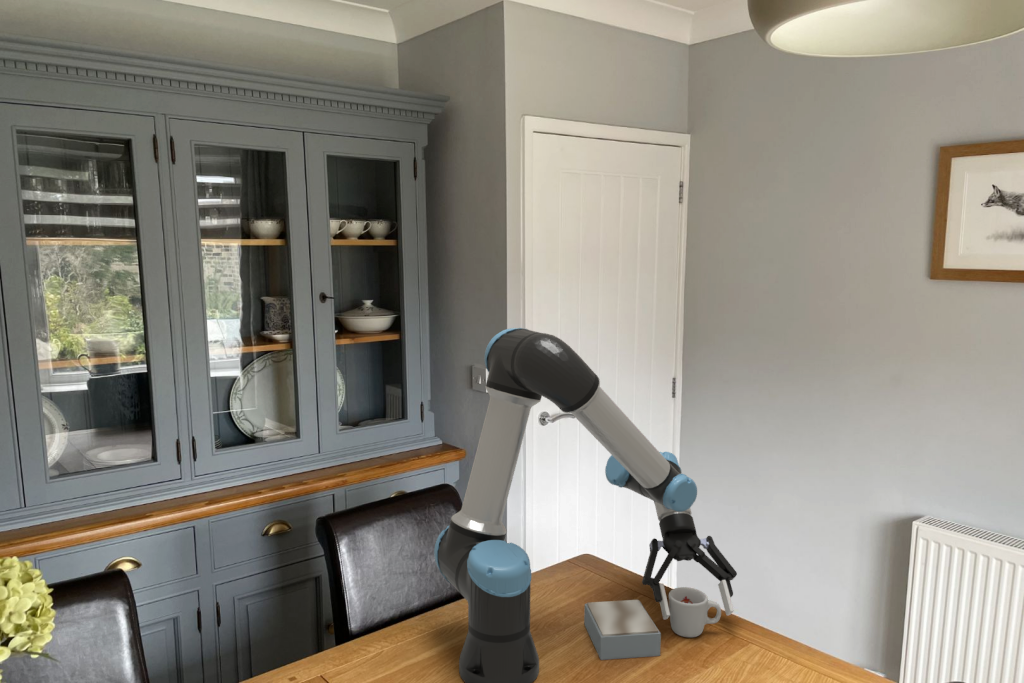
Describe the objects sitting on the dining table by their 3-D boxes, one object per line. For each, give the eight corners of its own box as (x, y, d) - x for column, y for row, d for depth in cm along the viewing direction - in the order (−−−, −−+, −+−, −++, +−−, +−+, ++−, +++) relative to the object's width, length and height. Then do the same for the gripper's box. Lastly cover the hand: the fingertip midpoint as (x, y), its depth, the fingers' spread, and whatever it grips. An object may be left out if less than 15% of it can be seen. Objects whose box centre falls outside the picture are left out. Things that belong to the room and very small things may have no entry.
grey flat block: (600, 659, 145) (601, 635, 144) (584, 624, 158) (584, 601, 158) (660, 655, 146) (660, 631, 145) (638, 620, 160) (639, 598, 159)
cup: (716, 624, 159) (718, 588, 158) (723, 643, 151) (725, 606, 150) (665, 621, 160) (666, 585, 159) (669, 640, 152) (670, 603, 151)
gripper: (723, 523, 170) (749, 617, 157) (617, 528, 167) (635, 624, 154) (734, 509, 164) (762, 605, 151) (624, 513, 161) (644, 612, 148)
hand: (698, 615), depth 153 cm, fingers open, 13 cm apart
